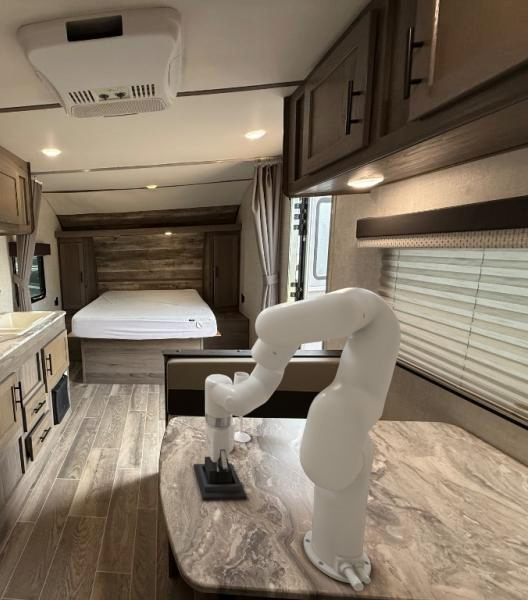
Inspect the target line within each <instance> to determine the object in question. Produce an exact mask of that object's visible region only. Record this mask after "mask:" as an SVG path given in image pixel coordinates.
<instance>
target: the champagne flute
mask: <svg viewBox="0 0 528 600" xmlns="http://www.w3.org/2000/svg"><path fill="white" fill-rule="evenodd" d="M249 376H250V374H249V373H247V372H245V371H236V372H234V377H233V385H235V384H238V383H240V382H242V381H244V380H246V379H248V377H249ZM238 418H239V420H238V423H239V424H238V425H239V427H238V431H235V437H234V441H235V442H238V443H248V442H250V441H251V440H252V439H251V436H250V435H249V434H248V433H246V432H244V416H238Z"/></svg>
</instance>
